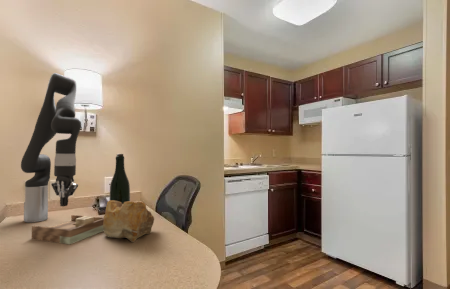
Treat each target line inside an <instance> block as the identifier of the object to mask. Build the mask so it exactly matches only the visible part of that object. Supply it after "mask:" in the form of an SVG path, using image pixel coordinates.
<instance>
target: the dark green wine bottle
mask: <svg viewBox="0 0 450 289" xmlns="http://www.w3.org/2000/svg"><path fill="white" fill-rule="evenodd" d="M108 199H109V200H108V201H110V200H114V201H118V202H121V203H122V204H123V203H124V202H127V201H131V186H130V181H129V178H128V176H127V173H126V167H125V156H124V153H117V154H116V156H115V168H114V173H113V177H112V179H111V181H110V185H109V198H108Z"/></svg>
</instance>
